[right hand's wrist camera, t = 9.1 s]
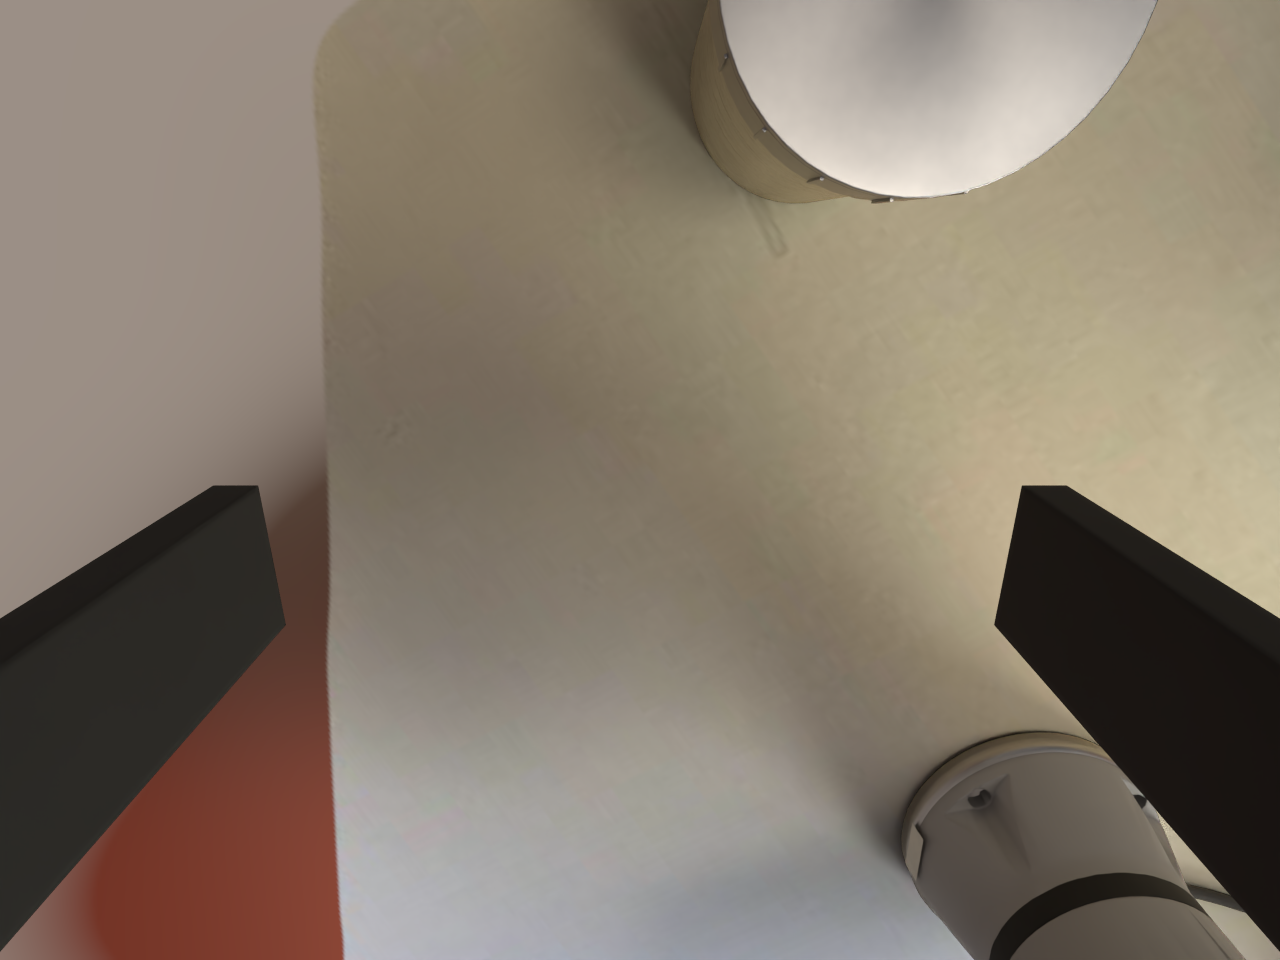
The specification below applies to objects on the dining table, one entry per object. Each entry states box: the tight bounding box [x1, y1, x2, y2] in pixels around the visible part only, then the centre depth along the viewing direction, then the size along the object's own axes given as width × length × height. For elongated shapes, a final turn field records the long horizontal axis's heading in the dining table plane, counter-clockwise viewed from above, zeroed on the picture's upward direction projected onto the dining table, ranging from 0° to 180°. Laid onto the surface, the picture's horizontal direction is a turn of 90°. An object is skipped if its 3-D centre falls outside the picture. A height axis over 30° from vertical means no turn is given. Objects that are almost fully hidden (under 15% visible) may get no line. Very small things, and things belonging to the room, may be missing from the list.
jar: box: [690, 0, 848, 203], centre depth 25 cm, size 10×10×15 cm
